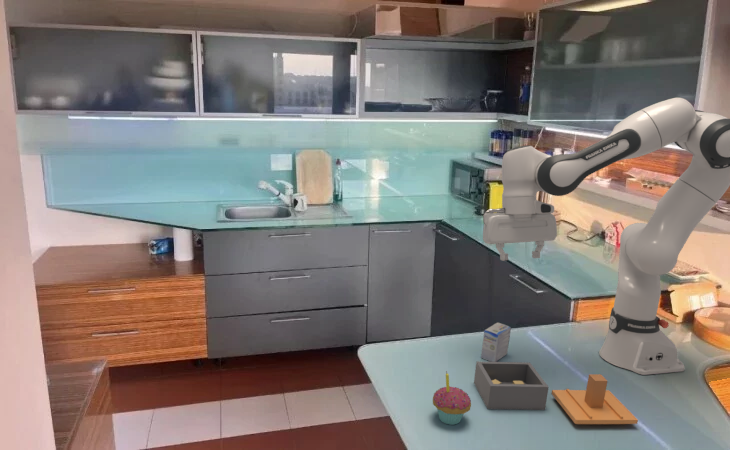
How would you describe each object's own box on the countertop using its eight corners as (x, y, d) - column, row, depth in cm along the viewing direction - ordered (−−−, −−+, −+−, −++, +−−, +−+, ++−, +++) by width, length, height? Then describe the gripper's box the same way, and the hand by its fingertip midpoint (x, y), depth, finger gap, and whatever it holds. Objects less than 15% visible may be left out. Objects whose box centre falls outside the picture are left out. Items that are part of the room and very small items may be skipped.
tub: (526, 383, 146) (530, 362, 145) (545, 409, 135) (548, 386, 133) (473, 382, 145) (476, 361, 144) (487, 409, 134) (490, 386, 132)
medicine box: (493, 349, 165) (496, 321, 163) (507, 354, 162) (511, 326, 160) (480, 358, 159) (483, 329, 157) (494, 363, 156) (498, 334, 154)
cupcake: (439, 431, 124) (445, 381, 121) (424, 410, 131) (429, 362, 129) (475, 427, 126) (481, 378, 123) (458, 406, 134) (464, 359, 131)
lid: (607, 399, 142) (613, 364, 140) (636, 429, 130) (643, 392, 127) (550, 399, 140) (556, 364, 138) (574, 429, 128) (580, 392, 126)
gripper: (488, 209, 146) (489, 263, 147) (559, 206, 151) (560, 258, 152) (478, 208, 152) (479, 260, 153) (546, 205, 157) (547, 255, 158)
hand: (520, 259), depth 152 cm, fingers open, 8 cm apart
